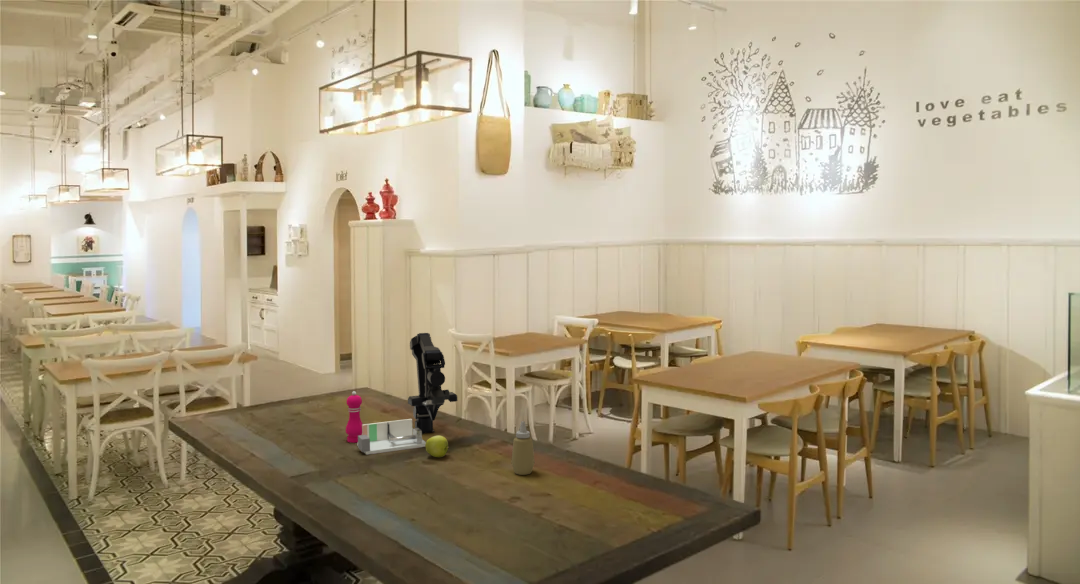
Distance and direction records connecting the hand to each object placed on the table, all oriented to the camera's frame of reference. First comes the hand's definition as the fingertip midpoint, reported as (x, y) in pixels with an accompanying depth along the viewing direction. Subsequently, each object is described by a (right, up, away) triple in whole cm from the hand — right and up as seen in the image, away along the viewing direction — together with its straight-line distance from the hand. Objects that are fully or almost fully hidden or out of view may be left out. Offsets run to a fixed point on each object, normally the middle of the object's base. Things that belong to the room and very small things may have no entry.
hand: (433, 420), depth 304 cm
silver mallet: (-12, -8, -2) cm, 14 cm away
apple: (+4, -11, -17) cm, 21 cm away
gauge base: (-16, -9, -3) cm, 19 cm away
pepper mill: (-32, -9, +5) cm, 33 cm away
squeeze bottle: (+36, -12, -36) cm, 52 cm away
